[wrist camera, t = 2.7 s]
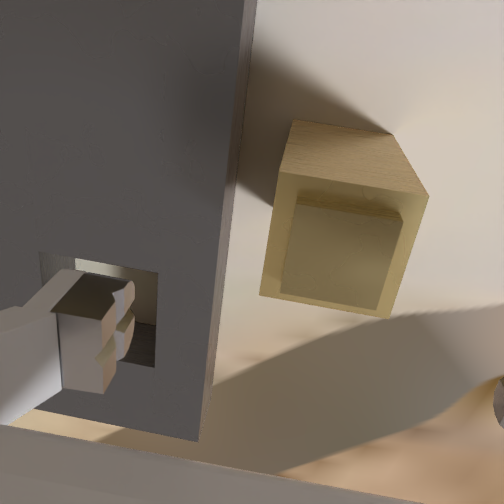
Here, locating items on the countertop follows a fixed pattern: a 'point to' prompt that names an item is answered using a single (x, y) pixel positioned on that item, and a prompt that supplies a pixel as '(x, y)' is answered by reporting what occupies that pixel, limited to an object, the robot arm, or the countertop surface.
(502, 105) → the countertop surface
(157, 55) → the grey peg hole board
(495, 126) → the countertop surface
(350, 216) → the wooden post chunk
